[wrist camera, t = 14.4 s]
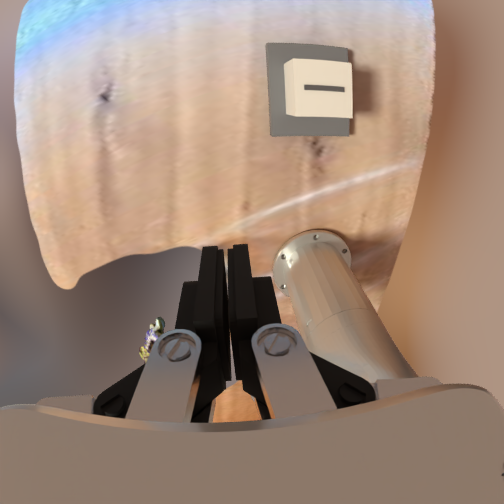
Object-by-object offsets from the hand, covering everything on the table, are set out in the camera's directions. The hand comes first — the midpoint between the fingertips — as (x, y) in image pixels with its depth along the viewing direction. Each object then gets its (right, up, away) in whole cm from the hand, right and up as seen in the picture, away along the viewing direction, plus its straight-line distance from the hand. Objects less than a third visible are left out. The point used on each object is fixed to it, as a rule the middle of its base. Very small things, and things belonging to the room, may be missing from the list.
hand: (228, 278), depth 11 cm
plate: (+8, +21, +20) cm, 30 cm away
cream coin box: (+8, +20, +18) cm, 29 cm away
